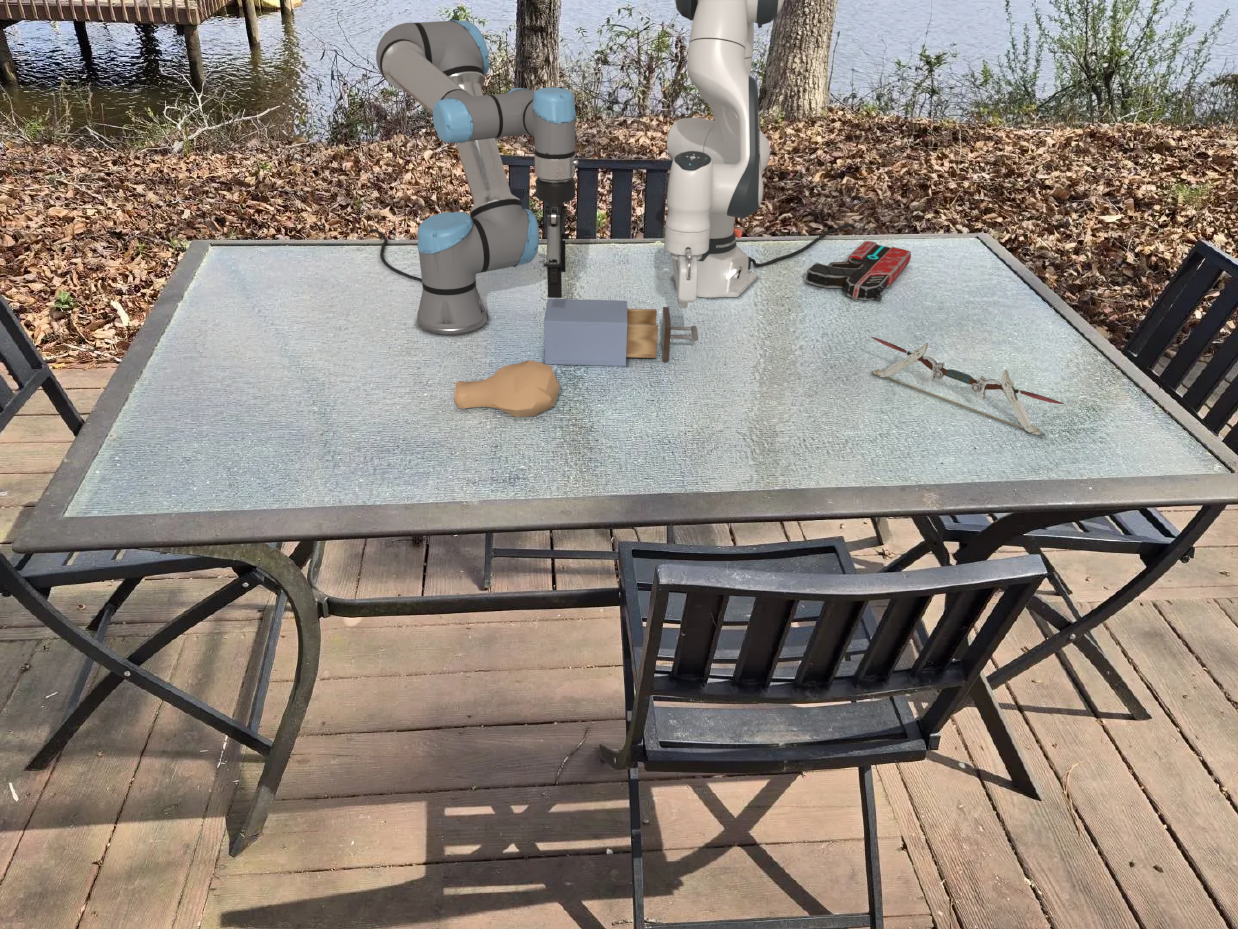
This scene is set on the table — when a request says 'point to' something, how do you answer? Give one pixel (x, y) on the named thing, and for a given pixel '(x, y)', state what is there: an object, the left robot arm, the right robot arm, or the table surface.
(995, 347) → the table surface
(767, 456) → the table surface
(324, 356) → the table surface
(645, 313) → the drawer
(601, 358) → the cabinet
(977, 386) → the bow
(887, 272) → the gun
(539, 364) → the squash
